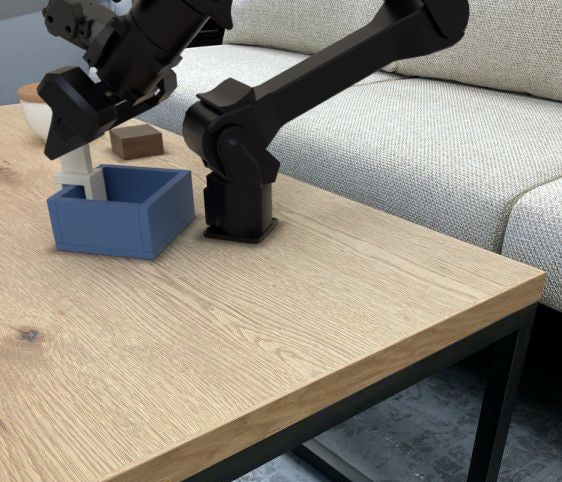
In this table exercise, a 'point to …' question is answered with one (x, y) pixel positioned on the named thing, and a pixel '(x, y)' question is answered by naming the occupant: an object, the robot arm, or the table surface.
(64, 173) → the white bracket
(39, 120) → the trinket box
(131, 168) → the box
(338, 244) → the table surface
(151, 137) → the block
